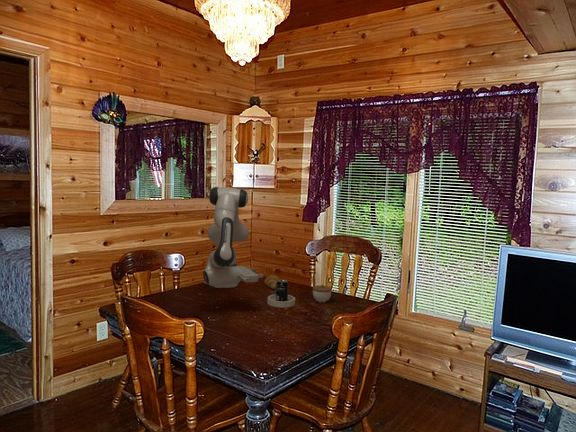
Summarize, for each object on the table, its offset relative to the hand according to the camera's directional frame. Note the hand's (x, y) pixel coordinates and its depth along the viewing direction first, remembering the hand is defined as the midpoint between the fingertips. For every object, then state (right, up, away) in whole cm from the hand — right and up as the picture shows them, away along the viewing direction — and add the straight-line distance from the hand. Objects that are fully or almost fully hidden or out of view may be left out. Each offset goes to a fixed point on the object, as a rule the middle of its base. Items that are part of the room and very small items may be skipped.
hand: (259, 273), depth 224 cm
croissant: (+5, -15, +45) cm, 48 cm away
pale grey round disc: (+12, -18, +8) cm, 23 cm away
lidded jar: (+35, -19, +16) cm, 43 cm away
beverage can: (+12, -17, +7) cm, 22 cm away
